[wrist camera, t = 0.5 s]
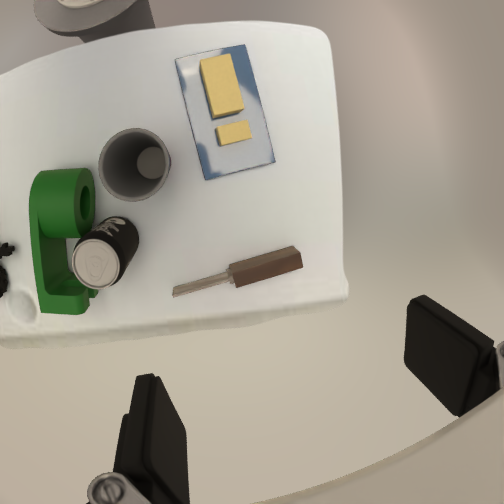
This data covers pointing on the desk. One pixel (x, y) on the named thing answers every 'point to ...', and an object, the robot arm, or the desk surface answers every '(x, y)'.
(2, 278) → the toy
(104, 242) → the beverage can
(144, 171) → the cup
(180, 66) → the butter plate
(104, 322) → the desk surface
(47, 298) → the tape dispenser
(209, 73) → the butter bar
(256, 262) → the knife
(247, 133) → the butter pat
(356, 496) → the robot arm
